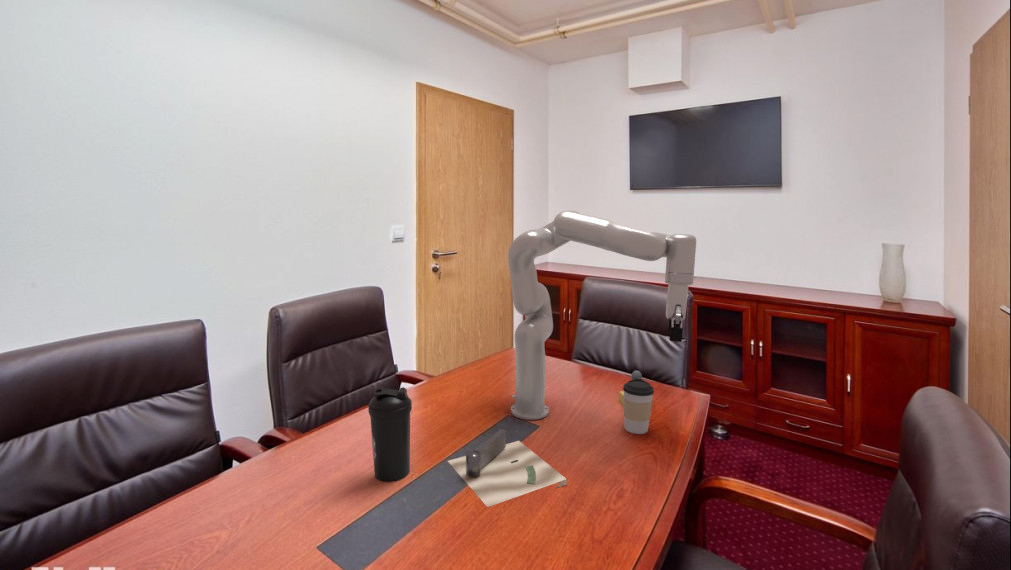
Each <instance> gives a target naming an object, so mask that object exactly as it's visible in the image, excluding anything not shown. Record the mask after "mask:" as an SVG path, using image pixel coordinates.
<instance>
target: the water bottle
mask: <svg viewBox="0 0 1011 570" xmlns="http://www.w3.org/2000/svg"><path fill="white" fill-rule="evenodd" d="M372 396H373V397H372V398H371V400H370V401H369V403H368V405H367V406H368V407H367V408H368V409H367V411H368V414H369V417H370V428H371V429H370V431H371V432H370V433H371V444H372V445H371V447H372V456H373V457H372V459H373V460H372V461H373V469H374V471H373V472H374V478H375V479H377V480H379V481H380V482H383V483H393V482H398V481H401V480H404V479H405V478H406V477H407V476H408V475H409V474H410V470H411V411H412V408H413V407H412V405H413V402H412V401H413V400H412V399H411V398H410V397H409V395H408V390H407V388H405V387H403V386H402V387H400V388H399V389H393V388H386V387H380V386H379V387H376V388H375V389H374V390H373V392H372Z"/></svg>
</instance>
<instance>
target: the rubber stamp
mask: <svg viewBox="0 0 1011 570" xmlns="http://www.w3.org/2000/svg"><path fill="white" fill-rule="evenodd" d="M633 379H642V380H643V376H642V373H641V371H639V370H634V371H632V373H631V380H633ZM623 396H624V390H620V391H619V393H618V402H619V403H620V404H621V405H622V406H623V407H624V399H623Z"/></svg>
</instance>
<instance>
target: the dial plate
mask: <svg viewBox="0 0 1011 570" xmlns="http://www.w3.org/2000/svg"><path fill="white" fill-rule="evenodd" d="M447 462H448V464H449V466H451V467H452V468H453V470H454V471H455V472H456V473H457V474H458V476H459V477H461V478H462V480H463V481H464V482H465V483H466V485H468V487H469V488H470V489H471V490H472V492H474V493H475V495H476V497H478V498H479V499H480V500H481V502H483V504H484V505H485V506H486V507H487V508H489V507H493V506H495V505H499V504H500V503H503V502H506V501H509V500H512V499H515V498H518V497H520V496H524V495H526V494H529V493H532V492H535V491H537V490H540V489H543V488H546V487H549V486H551V485H555V484H557V483H559V484H558V485H557V487H556V489H558V488H562V487H564V486H567V481H568V480H567V478H566V477H565V476H563V475H562V474H561V473H560V472H559V471H558V470H556V469H555V468H553V467H552V466H551V465H550V464H549V463H547V462H546V460H544V459H542V458H541V457H540V456H538V454H536V453H535V452H534V451H533V450H531V449H530V448H529V447H527V446H526V445H525V444H524V443H523V442H522V441H520V440H517V441H513V442H512V441H511V442H510V443H506V447H505V448H504V449H503V450H502V451H501V452H500V453H499V454H497V455H496V456H495V457H494V458H493V459H492V460H491V461H489V462H488V463H487V464H486V465H485V466H484V467H483V468H482V469H481V473H480V475H478V476H476V477H470V476H468V475H466V455H463V456H460V457H457V458H456V457H455V458H452V459H449V460H447Z"/></svg>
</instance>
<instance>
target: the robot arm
mask: <svg viewBox="0 0 1011 570" xmlns="http://www.w3.org/2000/svg"><path fill="white" fill-rule="evenodd" d="M571 241H572V242H575V243H579V244H583V245H587V246H591V247H595V248H599V249H602V250H604V251H607V252H613V253H616V254H619V255H622V256H627V257H629V258H633V259H638V260H642V261H646V262H656V261H658V260H660V259H661V258H666V260H665V261H666V262H665V264H666V265H665V277H664V283H665V284H667V294H666V303H665V304H666V305H665V306H666V307H665V317H666V319H668V330H667V332H668V333H669V341H670V342H677V343H681V342H682V341H683V329H684V328H683V320H685V319H686V312H687V308H688V307H687V305H688V294H689V286H692V285H693V284H694V278H695V275H694V274H695V263H696V262H695V261H696V252H697V237H696V236H695V235H693V234H687V233H686V234H684V233H682V234H681V233H676V234H675V233H674V234H667V233H661V232H656V231H655V232H645V231H641V230H636V229H633V228H629V227H626V226H622V225H619V224H618V223H616V222H614V221H613V220H609V219H605V218H601V217H596V216H591V215H588V214H584V213H580V212H579V211H576V210H564V211H561V212H559V213H558V214H556V215H555V217H554V219H553V221H551V222H549V223H547V224H546V225H544V226H542V227H540V228H537V229H536V228H535V229H530V230H528V231H524V232H522V233H520V235H518V236H517V237H516V238H514V240H513V241H512V242H511V243H510V245H509V248H508V253H507V262H508V263H507V264H508V269H509V270H508V271H509V278H510V285H511V293H512V301H513V302H512V303H513V305H514V306H513V307H514V308H515V310H516V311H517V313H519V314H520V315H523V316H524V318H525V319H524V320H522V321H521V322H520V323H519V324H518V325H517V327H516V328H515V331H514V332H515V333H514V345H515V346H514V347H515V393H514V394H512V398H513V399H514V404H512V405H511V406H510V412H511V414H512V415H513V417H516V418H518V419H521V420H528V421H533V420H540V419H544V418H545V417H546V418H547V416H548V415H549V413H550V408H549V406H547V405H546V404H545V393H546V390H545V389H546V351H545V350H546V349H545V342H546V341H547V340H548V339H549V338H550V336H551V335H552V333H553V330H554V322H553V321H554V320H553V312H552V304H551V298H550V294H549V291H548V289H547V287H546V286H545V285H544V284H543V283H541V282H539V281H538V271H537V268H536V265H535V259H536V258H538V257H541V256H545V255H547V254H550V253H551V252H554V251H555V250H556V249H558V248H560V247H562V246H564V245H565V244H567V243H569V242H571Z"/></svg>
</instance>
